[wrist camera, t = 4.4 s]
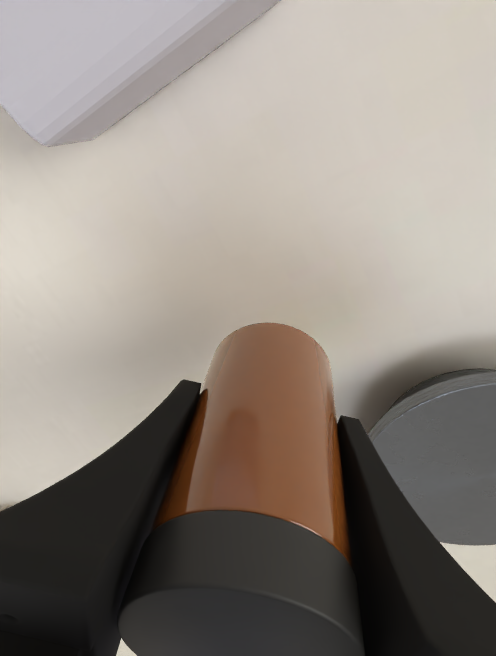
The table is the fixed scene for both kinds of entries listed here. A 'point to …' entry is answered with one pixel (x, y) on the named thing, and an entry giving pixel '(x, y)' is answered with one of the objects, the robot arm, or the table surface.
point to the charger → (103, 57)
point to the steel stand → (446, 454)
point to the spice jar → (252, 516)
